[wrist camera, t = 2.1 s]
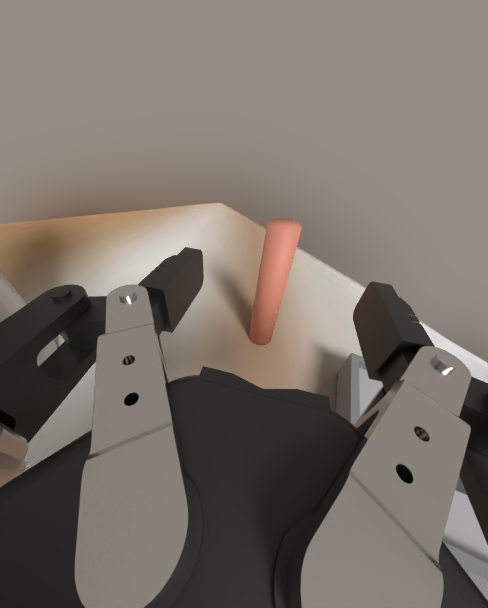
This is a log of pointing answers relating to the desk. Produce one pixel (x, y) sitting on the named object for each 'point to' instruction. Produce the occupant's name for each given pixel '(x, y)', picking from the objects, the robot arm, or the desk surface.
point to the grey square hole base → (462, 520)
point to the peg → (273, 276)
